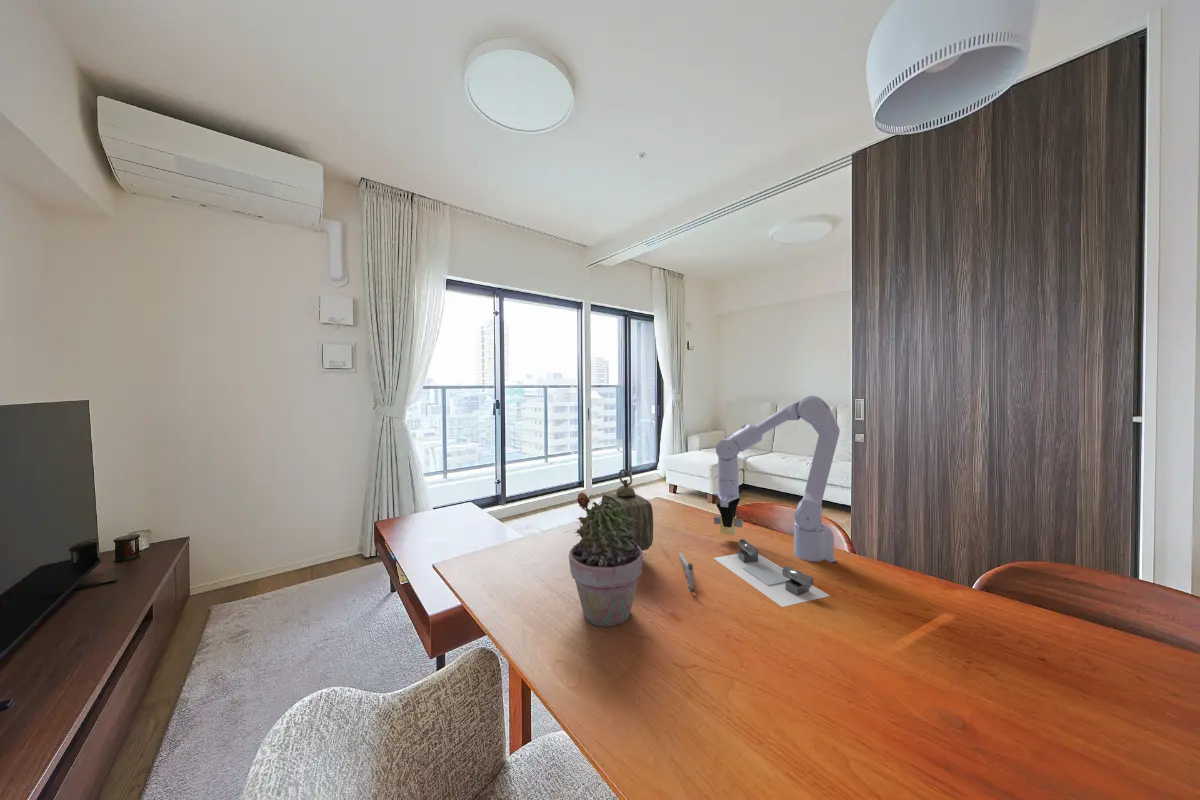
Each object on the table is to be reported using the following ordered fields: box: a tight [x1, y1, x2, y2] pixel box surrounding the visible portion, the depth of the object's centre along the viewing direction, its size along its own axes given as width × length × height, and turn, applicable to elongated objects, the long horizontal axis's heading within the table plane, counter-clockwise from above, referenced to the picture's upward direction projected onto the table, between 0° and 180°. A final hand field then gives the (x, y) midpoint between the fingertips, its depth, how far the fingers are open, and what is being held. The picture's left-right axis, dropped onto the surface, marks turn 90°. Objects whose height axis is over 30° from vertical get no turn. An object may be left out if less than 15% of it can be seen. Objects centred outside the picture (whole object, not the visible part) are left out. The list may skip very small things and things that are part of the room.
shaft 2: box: [782, 565, 814, 596], centre depth 90 cm, size 6×4×4 cm, turn 28°
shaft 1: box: [737, 538, 759, 563], centre depth 106 cm, size 6×4×4 cm, turn 8°
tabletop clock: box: [601, 468, 654, 552], centre depth 109 cm, size 14×9×25 cm, turn 25°
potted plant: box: [563, 491, 657, 628], centre depth 83 cm, size 18×20×25 cm
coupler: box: [713, 514, 744, 536], centre depth 118 cm, size 4×8×5 cm, turn 63°
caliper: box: [677, 552, 695, 593], centre depth 102 cm, size 20×1×6 cm, turn 177°
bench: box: [713, 553, 831, 608], centre depth 97 cm, size 13×25×1 cm, turn 18°
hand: (728, 524), depth 118 cm, fingers closed on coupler, 4 cm apart
